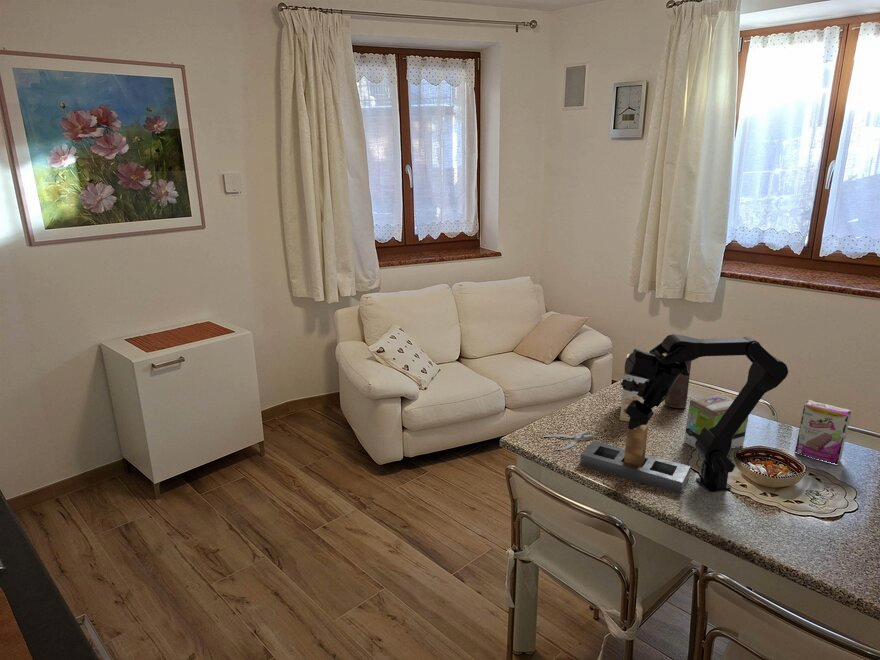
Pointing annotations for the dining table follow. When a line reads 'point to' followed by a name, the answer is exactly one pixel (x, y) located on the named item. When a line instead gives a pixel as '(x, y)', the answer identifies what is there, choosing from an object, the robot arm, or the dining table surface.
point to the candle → (679, 391)
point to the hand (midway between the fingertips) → (635, 420)
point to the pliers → (577, 438)
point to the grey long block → (636, 467)
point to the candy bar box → (823, 431)
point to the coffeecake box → (628, 401)
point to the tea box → (710, 417)
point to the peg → (636, 446)
